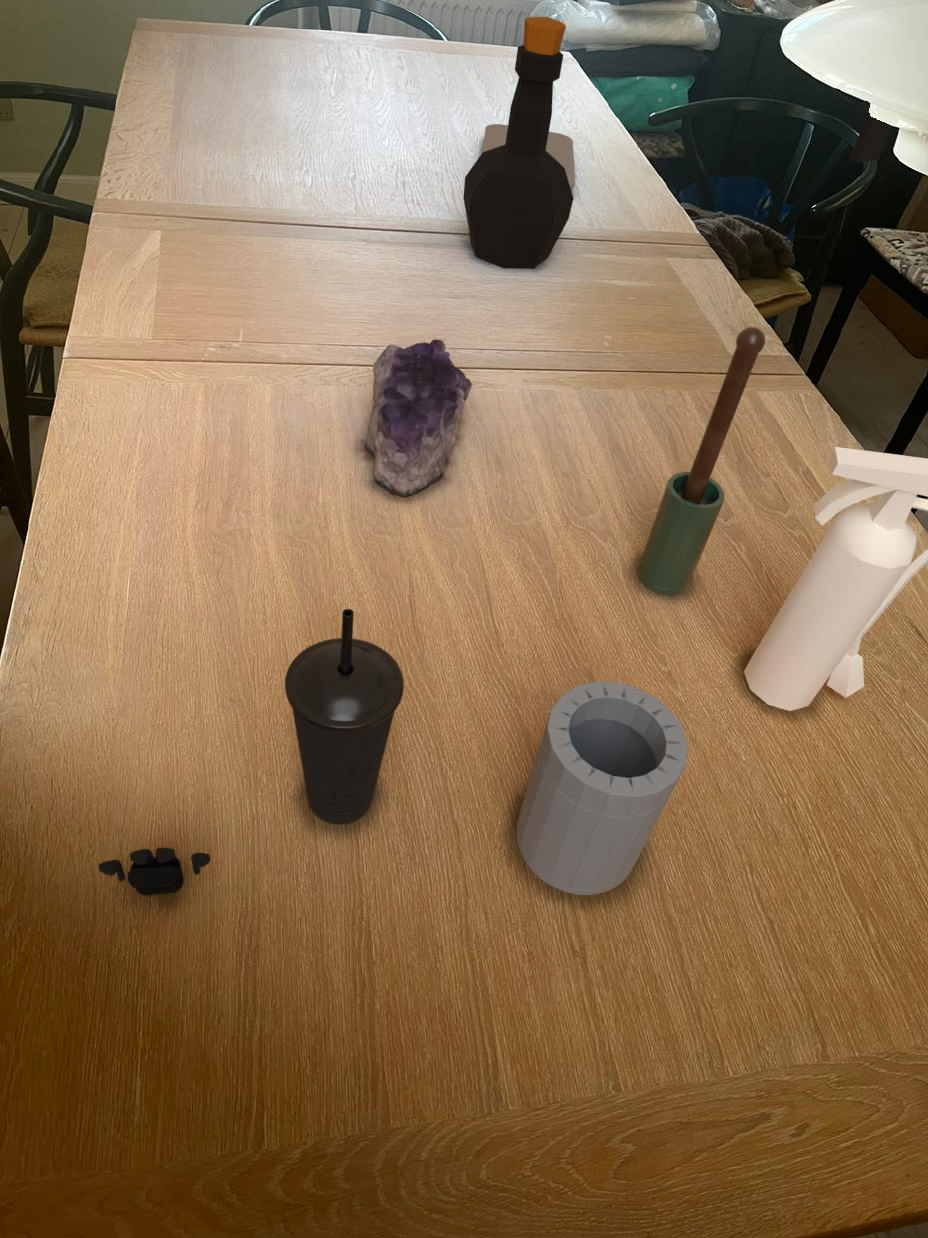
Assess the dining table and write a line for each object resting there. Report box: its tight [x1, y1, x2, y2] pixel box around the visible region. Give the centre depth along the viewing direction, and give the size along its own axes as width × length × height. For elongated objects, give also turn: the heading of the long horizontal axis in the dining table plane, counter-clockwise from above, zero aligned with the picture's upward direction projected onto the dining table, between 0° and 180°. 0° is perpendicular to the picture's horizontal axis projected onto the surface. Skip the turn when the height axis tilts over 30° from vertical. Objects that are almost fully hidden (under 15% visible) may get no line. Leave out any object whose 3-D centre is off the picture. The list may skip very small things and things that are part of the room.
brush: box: [676, 326, 766, 505], centre depth 81 cm, size 3×3×26 cm
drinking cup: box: [284, 608, 405, 825], centre depth 62 cm, size 8×8×20 cm
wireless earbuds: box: [98, 847, 211, 896], centre depth 60 cm, size 7×2×5 cm, turn 100°
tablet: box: [481, 123, 576, 190], centre depth 162 cm, size 16×26×2 cm, turn 176°
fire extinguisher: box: [743, 446, 928, 712], centre depth 74 cm, size 7×12×25 cm, turn 79°
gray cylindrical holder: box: [515, 680, 689, 896], centre depth 65 cm, size 9×9×13 cm
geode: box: [364, 338, 473, 498], centre depth 98 cm, size 20×12×10 cm, turn 178°
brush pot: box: [636, 471, 725, 596], centre depth 87 cm, size 5×5×11 cm
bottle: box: [462, 16, 575, 269], centre depth 128 cm, size 16×16×30 cm
